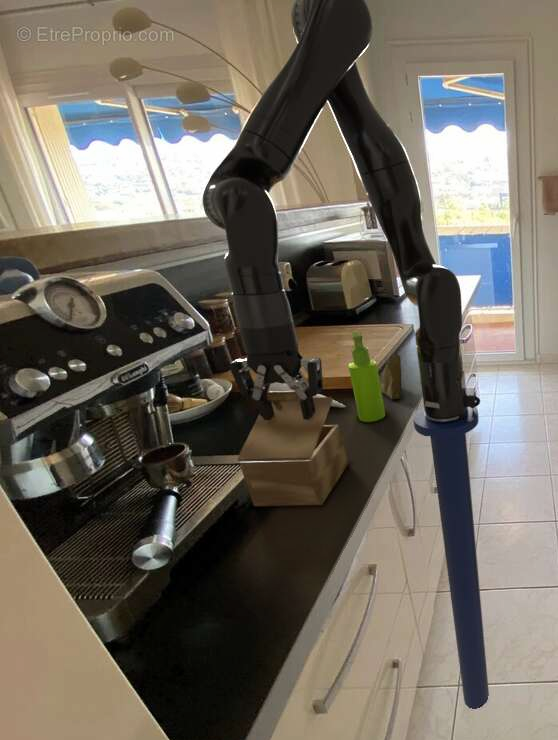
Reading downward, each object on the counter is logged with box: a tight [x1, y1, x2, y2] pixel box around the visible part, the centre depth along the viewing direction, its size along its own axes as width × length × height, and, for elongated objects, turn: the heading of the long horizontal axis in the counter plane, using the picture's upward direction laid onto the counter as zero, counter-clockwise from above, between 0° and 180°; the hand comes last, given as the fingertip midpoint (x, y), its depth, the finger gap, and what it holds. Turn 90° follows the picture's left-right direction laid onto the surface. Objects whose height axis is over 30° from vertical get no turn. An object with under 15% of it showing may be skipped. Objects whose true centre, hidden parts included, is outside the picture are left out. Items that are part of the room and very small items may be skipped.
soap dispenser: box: [348, 330, 386, 423], centre depth 101 cm, size 6×7×20 cm
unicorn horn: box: [268, 382, 347, 408], centre depth 111 cm, size 5×24×5 cm, turn 64°
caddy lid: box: [236, 391, 334, 463], centre depth 74 cm, size 13×11×5 cm
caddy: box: [238, 424, 349, 507], centre depth 79 cm, size 12×11×9 cm
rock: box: [380, 352, 402, 400], centre depth 115 cm, size 11×9×10 cm
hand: (288, 417), depth 76 cm, fingers closed on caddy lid, 6 cm apart
